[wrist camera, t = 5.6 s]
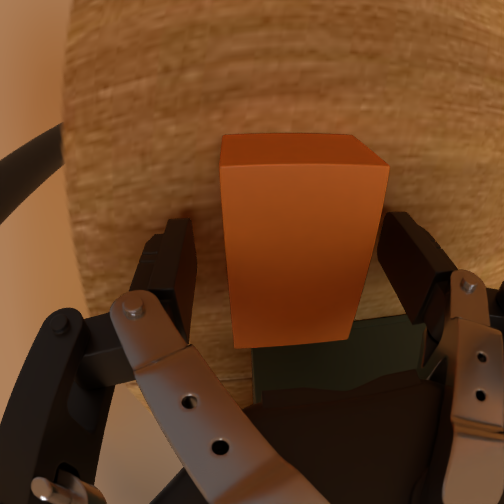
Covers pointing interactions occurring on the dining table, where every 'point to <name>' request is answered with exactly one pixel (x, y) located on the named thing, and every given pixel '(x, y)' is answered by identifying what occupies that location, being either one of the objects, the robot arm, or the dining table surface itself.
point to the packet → (298, 233)
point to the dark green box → (340, 358)
